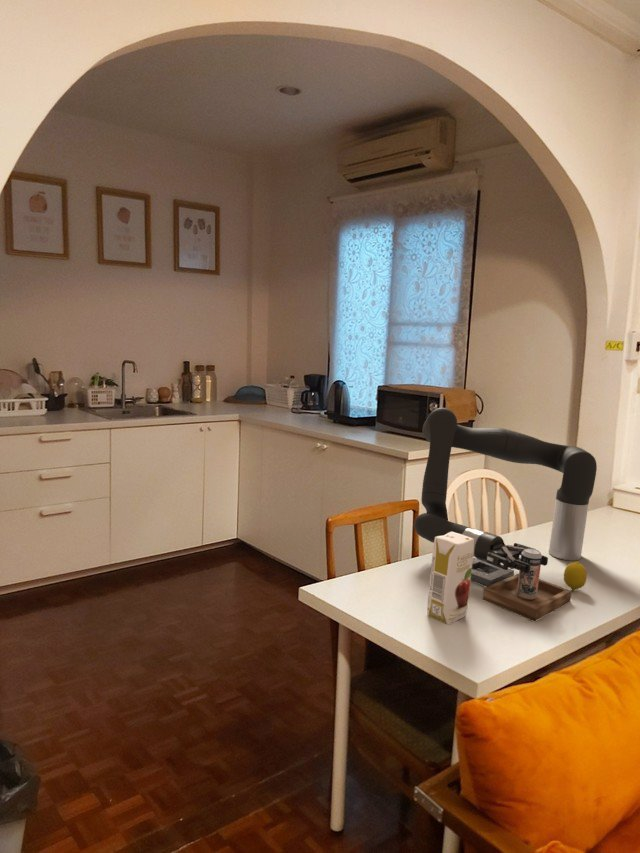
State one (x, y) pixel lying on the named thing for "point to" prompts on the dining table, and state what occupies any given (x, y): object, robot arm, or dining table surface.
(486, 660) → the dining table surface
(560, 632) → the dining table surface
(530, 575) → the beer can
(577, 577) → the lemon
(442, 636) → the dining table surface
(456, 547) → the juice carton
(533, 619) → the tray
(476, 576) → the socket block
